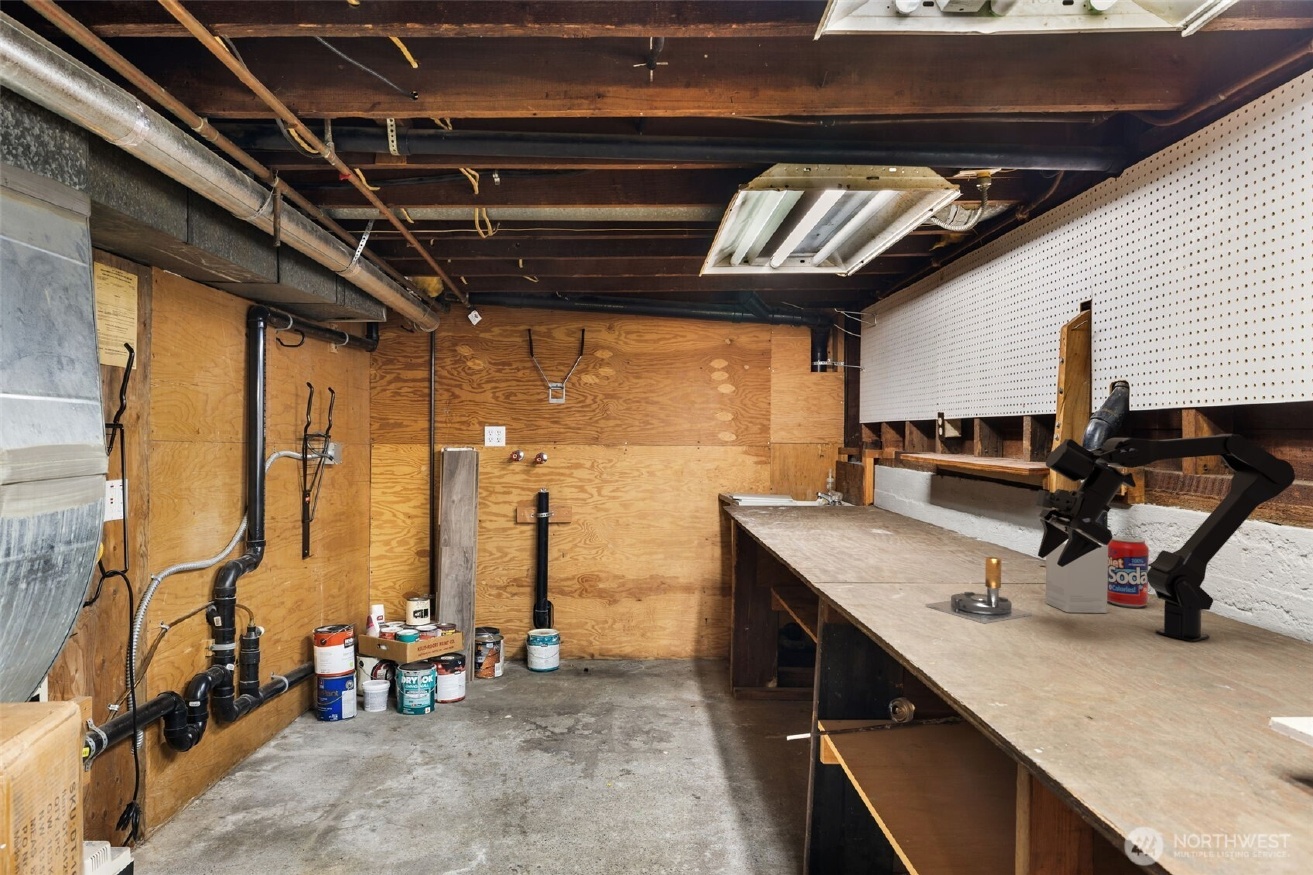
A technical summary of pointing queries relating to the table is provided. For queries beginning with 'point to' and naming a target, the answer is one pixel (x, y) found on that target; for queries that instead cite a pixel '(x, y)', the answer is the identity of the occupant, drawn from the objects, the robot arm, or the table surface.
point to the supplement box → (1078, 581)
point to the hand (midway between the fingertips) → (1049, 561)
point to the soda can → (1127, 572)
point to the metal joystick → (991, 600)
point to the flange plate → (977, 617)
